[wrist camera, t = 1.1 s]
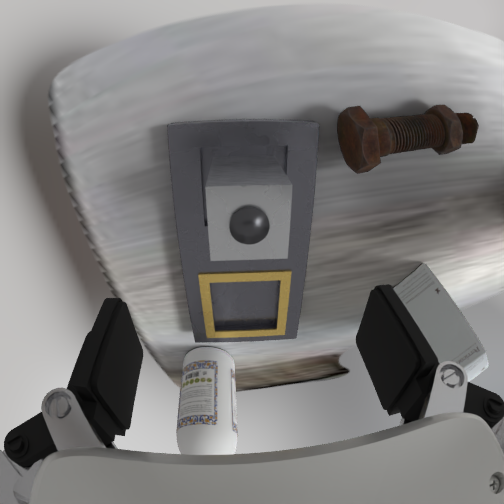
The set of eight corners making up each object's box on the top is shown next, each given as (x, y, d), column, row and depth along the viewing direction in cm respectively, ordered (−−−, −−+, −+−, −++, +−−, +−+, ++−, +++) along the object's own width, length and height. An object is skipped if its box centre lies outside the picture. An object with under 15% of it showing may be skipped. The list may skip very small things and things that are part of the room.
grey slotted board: (313, 121, 23) (319, 123, 21) (293, 327, 35) (296, 339, 34) (171, 123, 22) (166, 125, 21) (196, 331, 35) (195, 343, 33)
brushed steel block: (273, 155, 23) (293, 186, 16) (272, 210, 26) (288, 260, 19) (213, 156, 23) (205, 188, 16) (215, 211, 26) (210, 263, 19)
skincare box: (423, 260, 32) (490, 346, 19) (436, 286, 34) (492, 365, 21) (372, 301, 34) (420, 398, 22) (389, 322, 37) (433, 409, 24)
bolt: (449, 127, 25) (333, 142, 25) (460, 92, 20) (335, 98, 21) (478, 164, 22) (359, 187, 23) (496, 129, 18) (368, 141, 18)
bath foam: (174, 361, 38) (160, 498, 21) (203, 337, 35) (197, 494, 18) (213, 380, 40) (214, 507, 23) (244, 359, 38) (255, 501, 21)
